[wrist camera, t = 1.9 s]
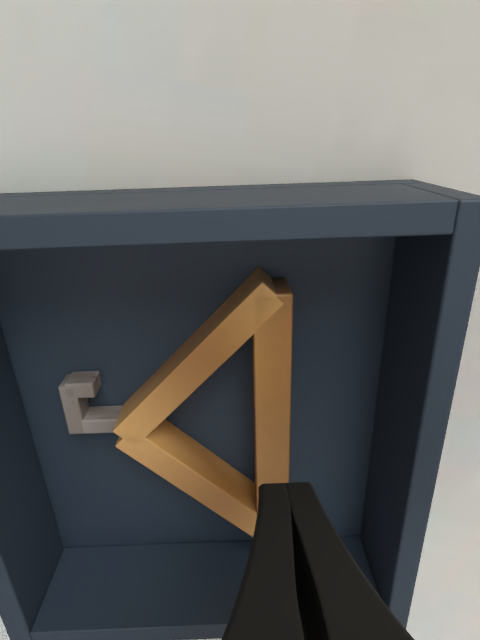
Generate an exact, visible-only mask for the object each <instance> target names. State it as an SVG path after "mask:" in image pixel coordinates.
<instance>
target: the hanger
mask: <svg viewBox="0 0 480 640" xmlns="http://www.w3.org/2000/svg"><path fill="white" fill-rule="evenodd" d="M292 329H293V294H292V291H291V289H290V286H289V284H288V281H287V279H286V278H271V277H270V276H269V275H268V274H267V273H266V272H264V271H263V270H262V269H261V268H260V267H258V268H257V269H256V270H255V271H254V272H253V273H252V274H251V275H250V276H249V277H248V278H247V279H246V280H245V281H244V282H243V283H242V284H241V285H240V286H239V287H238V288H237V289H236V290H235V291H234V292H233V293H232V294H231V295H230V296H229V297H228V298H227V299H226V300H225V302H224V303H223V304H222V305H221V306H220V307H219V308H218V309H217V310H216V311H215V312H214V313H213V314H212V315H211V316H210V317H209V318H208V319H207V320H206V321H205V322H204V323H203V324H202V325H201V326H200V327H199V328H198V329H197V330H196V331H195V332H194V333H193V334H192V335H191V336H190V337H189V338H188V339H187V340H186V341H185V342H184V343H183V344H182V345H181V346H180V347H179V348H178V349H177V350H176V351H175V352H174V353H173V354H172V355H171V356H170V357H169V358H168V359H167V360H166V361H165V362H164V363H163V364H162V365H161V367H160V368H159V369H158V370H157V371H156V372H155V373H154V374H153V375H152V376H151V377H150V378H149V379H148V380H147V381H146V382H145V383H144V384H143V385H142V386H141V387H140V388H139V389H138V390H137V391H136V392H135V393H134V394H133V395H132V396H131V397H130V398H129V399H128V400H127V401H126V402H125V403H124V404H123V405H118V406H92V407H89V402H88V398H94V397H95V396H96V394H97V392H98V390H99V388H100V386H101V384H102V383H101V378H100V372H99V371H76V372H72V373H71V374H68V375H66V376H65V378H64V379H63V381H62V382H61V384H60V385H59V387H58V390H59V394H60V398H61V402H62V406H63V411H64V415H65V419H66V423H67V427H68V432H69V434H93V433H115V434H116V435H118V436H119V437H118V440H117V443H116V445H115V446H116V447H117V448H118V449H120V450H121V451H123V452H124V453H126V454H127V455H129V456H130V457H132V458H133V459H135V460H136V461H138V462H139V463H141V464H142V465H144V466H145V467H147V468H148V469H150V470H152V471H153V472H155V473H156V474H158V475H159V476H161V477H162V478H164V479H165V480H167V481H168V482H170V483H171V484H173V485H174V486H176V487H177V488H179V489H180V490H182V491H183V492H185V493H186V494H188V495H189V496H191V497H193V498H194V499H196V500H197V501H199V502H200V503H202V504H203V505H205V506H206V507H208V508H209V509H211V510H212V511H214V512H215V513H217V514H218V515H220V516H221V517H223V518H224V519H226V520H227V521H229V522H231V523H232V524H234V525H235V526H237V527H238V528H240V529H241V530H243V531H244V532H246V533H247V534H249V535H250V536H252V537H253V535H254V531H255V525H256V519H257V512H258V501H259V495H258V487H259V486H260V485H262V484H267V483H289V470H290V423H291V376H292ZM250 337H251V339H252V385H253V431H254V477H255V482H253V481H252V480H250V479H249V478H247V477H246V476H245V475H243V474H242V473H240V472H239V471H238V470H236V469H235V468H233V467H232V466H231V465H229V464H228V463H226V462H225V461H224V460H222V459H221V458H219V457H218V456H217V455H215V454H214V453H212V452H211V451H210V450H208V449H207V448H205V447H204V446H202V445H201V444H200V443H198V442H197V441H195V440H194V439H193V438H191V437H190V436H188V435H187V434H186V433H184V432H183V431H181V430H180V429H179V428H177V427H176V426H174V425H173V424H172V423H170V422H169V421H167V420H166V418H167V417H168V416H169V415H170V414H171V413H172V412H173V411H174V410H175V409H176V408H177V407H178V406H179V405H180V404H181V403H182V402H183V401H185V400H186V399H187V398H188V397H189V396H190V395H191V394H192V393H193V392H194V391H195V390H196V389H197V388H198V387H199V386H200V385H201V384H202V383H203V382H204V381H205V380H206V379H208V378H209V377H210V376H211V375H212V374H213V373H214V372H215V371H216V370H217V369H218V368H219V367H220V366H221V365H222V364H223V363H224V362H225V361H226V360H227V359H228V358H229V357H231V356H232V355H233V354H234V353H235V352H236V351H237V350H238V349H239V348H240V347H241V346H242V345H243V344H244V343H245V342H246V341H247V340H248V339H249V338H250Z"/></svg>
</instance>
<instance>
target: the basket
mask: <svg viewBox="0 0 480 640" xmlns="http://www.w3.org/2000/svg"><path fill="white" fill-rule="evenodd" d="M258 267H260V268H261V269H262V270H263V271H264V272H266V273H267V274H268V275H269V276H270V277H271V278H286V279H287V281H288V284H289V286H290V289H291V291H292V294H293V329H292V376H291V423H290V470H289V483H293V482H309V483H310V484H312V485H313V488H314V490H315V492H316V494H317V497H318V499H319V501H320V503H321V505H322V507H323V508H324V510H325V512H326V514H327V516H328V518H329V519H330V521H331V523H332V525H333V526H334V528H335V530H336V531H337V533H338V535H339V536H340V538H341V540H342V541H343V543H344V544H345V546H346V548H347V549H348V551H349V552H350V554H351V555H352V557H353V559H354V560H355V562H356V563H357V565H358V566H359V568H360V569H361V571H362V572H363V573H364V575H365V576H366V578H367V579H368V581H369V582H370V583H371V585H372V586H373V588H374V589H375V590H376V592H377V593H378V594H379V596H380V597H381V599H382V600H383V601H384V603H385V604H386V605H387V606H388V608H389V609H390V610H391V612H392V613H393V614H394V615H395V617H396V618H397V619H398V620H399V622H400V623H401V624H402V625H403V627H404V628H405V629H406V626H407V621H408V616H409V611H410V606H411V601H412V596H413V591H414V586H415V581H416V576H417V572H418V567H419V562H420V557H421V552H422V547H423V542H424V537H425V532H426V527H427V522H428V517H429V513H430V508H431V503H432V498H433V493H434V488H435V483H436V478H437V473H438V468H439V463H440V458H441V454H442V449H443V444H444V439H445V434H446V429H447V424H448V419H449V414H450V409H451V404H452V399H453V395H454V390H455V385H456V380H457V375H458V370H459V365H460V360H461V355H462V350H463V345H464V341H465V336H466V331H467V326H468V321H469V316H470V311H471V306H472V301H473V296H474V291H475V286H476V282H477V277H478V272H479V267H480V196H479V195H475V194H471V193H466V192H462V191H458V190H454V189H450V188H446V187H442V186H438V185H433V184H429V183H425V182H421V181H417V180H386V181H357V182H328V183H298V184H269V185H240V186H210V187H181V188H152V189H122V190H93V191H64V192H34V193H5V194H0V615H1V618H2V620H3V623H4V625H5V628H6V630H7V633H8V635H9V638H10V640H189V639H212V638H222V637H223V635H224V632H225V629H226V626H227V624H228V621H229V618H230V616H231V613H232V610H233V607H234V604H235V601H236V598H237V595H238V592H239V588H240V585H241V582H242V578H243V575H244V571H245V568H246V565H247V561H248V557H249V553H250V548H251V544H252V540H253V537H252V536H250V535H249V534H247V533H246V532H244V531H243V530H241V529H240V528H238V527H237V526H235V525H234V524H232V523H231V522H229V521H227V520H226V519H224V518H223V517H221V516H220V515H218V514H217V513H215V512H214V511H212V510H211V509H209V508H208V507H206V506H205V505H203V504H202V503H200V502H199V501H197V500H196V499H194V498H193V497H191V496H189V495H188V494H186V493H185V492H183V491H182V490H180V489H179V488H177V487H176V486H174V485H173V484H171V483H170V482H168V481H167V480H165V479H164V478H162V477H161V476H159V475H158V474H156V473H155V472H153V471H152V470H150V469H148V468H147V467H145V466H144V465H142V464H141V463H139V462H138V461H136V460H135V459H133V458H132V457H130V456H129V455H127V454H126V453H124V452H123V451H121V450H120V449H118V448H117V447H116V446H115V445H116V443H117V440H118V437H119V436H118V435H116V434H115V433H93V434H69V432H68V427H67V423H66V419H65V415H64V411H63V406H62V402H61V398H60V394H59V390H58V387H59V385H60V384H61V382H62V381H63V379H64V378H65V376H66V375H68V374H71V373H72V372H76V371H99V372H100V378H101V383H102V384H101V386H100V388H99V390H98V392H97V394H96V396H95V397H94V398H88V402H89V407H92V406H118V405H123V404H124V403H125V402H126V401H127V400H128V399H129V398H130V397H131V396H132V395H133V394H134V393H135V392H136V391H137V390H138V389H139V388H140V387H141V386H142V385H143V384H144V383H145V382H146V381H147V380H148V379H149V378H150V377H151V376H152V375H153V374H154V373H155V372H156V371H157V370H158V369H159V368H160V367H161V365H162V364H163V363H164V362H165V361H166V360H167V359H168V358H169V357H170V356H171V355H172V354H173V353H174V352H175V351H176V350H177V349H178V348H179V347H180V346H181V345H182V344H183V343H184V342H185V341H186V340H187V339H188V338H189V337H190V336H191V335H192V334H193V333H194V332H195V331H196V330H197V329H198V328H199V327H200V326H201V325H202V324H203V323H204V322H205V321H206V320H207V319H208V318H209V317H210V316H211V315H212V314H213V313H214V312H215V311H216V310H217V309H218V308H219V307H220V306H221V305H222V304H223V303H224V302H225V300H226V299H227V298H228V297H229V296H230V295H231V294H232V293H233V292H234V291H235V290H236V289H237V288H238V287H239V286H240V285H241V284H242V283H243V282H244V281H245V280H246V279H247V278H248V277H249V276H250V275H251V274H252V273H253V272H254V271H255V270H256V269H257V268H258ZM166 420H167V421H169V422H170V423H172V424H173V425H174V426H176V427H177V428H179V429H180V430H181V431H183V432H184V433H186V434H187V435H188V436H190V437H191V438H193V439H194V440H195V441H197V442H198V443H200V444H201V445H202V446H204V447H205V448H207V449H208V450H210V451H211V452H212V453H214V454H215V455H217V456H218V457H219V458H221V459H222V460H224V461H225V462H226V463H228V464H229V465H231V466H232V467H233V468H235V469H236V470H238V471H239V472H240V473H242V474H243V475H245V476H246V477H247V478H249V479H250V480H252V481H253V482H255V477H254V431H253V385H252V339H251V337H250V338H249V339H248V340H247V341H246V342H245V343H244V344H243V345H242V346H241V347H240V348H239V349H238V350H237V351H236V352H235V353H234V354H233V355H232V356H231V357H229V358H228V359H227V360H226V361H225V362H224V363H223V364H222V365H221V366H220V367H219V368H218V369H217V370H216V371H215V372H214V373H213V374H212V375H211V376H210V377H209V378H208V379H206V380H205V381H204V382H203V383H202V384H201V385H200V386H199V387H198V388H197V389H196V390H195V391H194V392H193V393H192V394H191V395H190V396H189V397H188V398H187V399H186V400H185V401H183V402H182V403H181V404H180V405H179V406H178V407H177V408H176V409H175V410H174V411H173V412H172V413H171V414H170V415H169V416H168V417H167V418H166Z"/></svg>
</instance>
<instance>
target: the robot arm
mask: <svg viewBox="0 0 480 640" xmlns="http://www.w3.org/2000/svg"><path fill="white" fill-rule="evenodd" d="M258 495H259V501H258V512H257V519H256V525H255V531H254V535H253V540H252V544H251V548H250V553H249V557H248V561H247V565H246V568H245V571H244V575H243V578H242V582H241V585H240V588H239V592H238V595H237V598H236V601H235V604H234V607H233V610H232V613H231V616H230V618H229V621H228V624H227V626H226V629H225V632H224V635H223V637H222V640H414V639H413V638H412V636H411V635H410V634H409V633H408V632H407V630H406V629H405V628H404V627H403V625H402V624H401V623H400V622H399V620H398V619H397V618H396V617H395V615H394V614H393V613H392V612H391V610H390V609H389V608H388V606H387V605H386V604H385V603H384V601H383V600H382V599H381V597H380V596H379V594H378V593H377V592H376V590H375V589H374V588H373V586H372V585H371V583H370V582H369V581H368V579H367V578H366V576H365V575H364V573H363V572H362V571H361V569H360V568H359V566H358V565H357V563H356V562H355V560H354V559H353V557H352V555H351V554H350V552H349V551H348V549H347V548H346V546H345V544H344V543H343V541H342V540H341V538H340V536H339V535H338V533H337V531H336V530H335V528H334V526H333V525H332V523H331V521H330V519H329V518H328V516H327V514H326V512H325V510H324V508H323V507H322V505H321V503H320V501H319V499H318V497H317V494H316V492H315V490H314V488H313V485H312V484H310V483H309V482H293V483H267V484H262V485H260V486H259V487H258Z"/></svg>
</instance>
